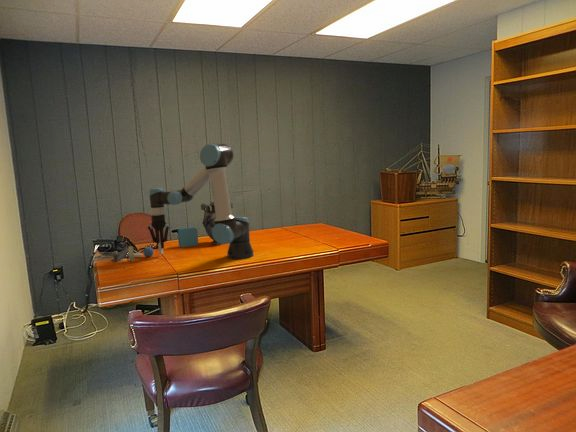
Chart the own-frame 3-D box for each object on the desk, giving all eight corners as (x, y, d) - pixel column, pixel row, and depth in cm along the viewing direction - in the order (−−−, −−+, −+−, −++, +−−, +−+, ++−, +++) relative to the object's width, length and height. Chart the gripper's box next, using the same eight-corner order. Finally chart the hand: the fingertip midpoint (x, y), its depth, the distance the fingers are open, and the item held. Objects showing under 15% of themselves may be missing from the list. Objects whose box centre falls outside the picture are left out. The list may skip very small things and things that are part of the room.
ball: (144, 247, 256) (146, 257, 256) (140, 248, 250) (142, 258, 250) (154, 245, 256) (156, 255, 256) (150, 246, 250) (152, 256, 250)
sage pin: (134, 260, 246) (133, 246, 244) (133, 261, 243) (131, 247, 242) (130, 260, 246) (129, 246, 245) (129, 261, 243) (127, 247, 242)
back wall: (132, 253, 264) (131, 247, 263) (117, 261, 244) (117, 255, 243) (128, 253, 264) (128, 247, 263) (114, 261, 244) (113, 255, 243)
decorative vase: (233, 238, 300) (230, 199, 295) (237, 244, 282) (234, 202, 278) (202, 241, 294) (199, 201, 290) (204, 247, 276) (201, 204, 272)
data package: (196, 244, 287) (195, 226, 285) (198, 245, 283) (197, 227, 281) (178, 246, 281) (177, 228, 279) (180, 247, 277) (179, 229, 275)
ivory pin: (142, 253, 255) (128, 253, 256) (139, 253, 252) (126, 253, 254) (142, 257, 255) (129, 257, 256) (139, 257, 252) (126, 257, 254)
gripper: (170, 213, 252) (173, 252, 256) (149, 213, 253) (152, 252, 256) (166, 214, 245) (169, 254, 248) (144, 215, 246) (147, 255, 249)
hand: (161, 253), depth 252 cm, fingers closed
